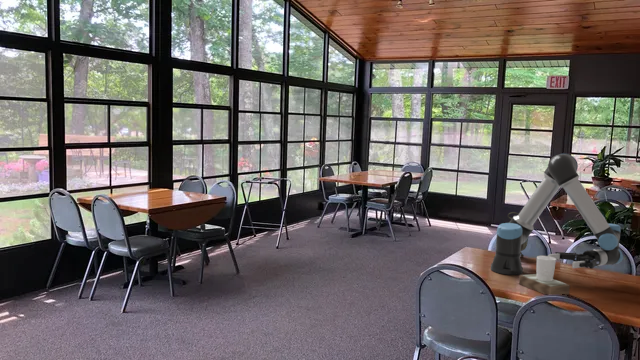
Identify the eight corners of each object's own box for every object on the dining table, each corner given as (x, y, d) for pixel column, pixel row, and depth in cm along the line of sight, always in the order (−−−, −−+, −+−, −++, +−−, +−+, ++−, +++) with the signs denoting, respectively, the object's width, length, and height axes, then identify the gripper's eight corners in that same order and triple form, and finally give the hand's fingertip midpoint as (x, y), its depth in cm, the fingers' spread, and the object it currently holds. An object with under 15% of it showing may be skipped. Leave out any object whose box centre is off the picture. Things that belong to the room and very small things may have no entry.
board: (518, 284, 238) (519, 274, 238) (536, 281, 243) (537, 273, 242) (550, 296, 222) (551, 286, 221) (569, 294, 226) (569, 284, 226)
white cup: (556, 283, 227) (558, 260, 226) (537, 281, 229) (539, 259, 228) (551, 277, 235) (553, 256, 234) (533, 276, 236) (534, 254, 235)
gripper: (617, 273, 232) (583, 277, 223) (571, 259, 255) (538, 262, 246) (619, 256, 231) (584, 260, 223) (572, 244, 254) (539, 246, 246)
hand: (560, 261), depth 234 cm, fingers open, 13 cm apart
